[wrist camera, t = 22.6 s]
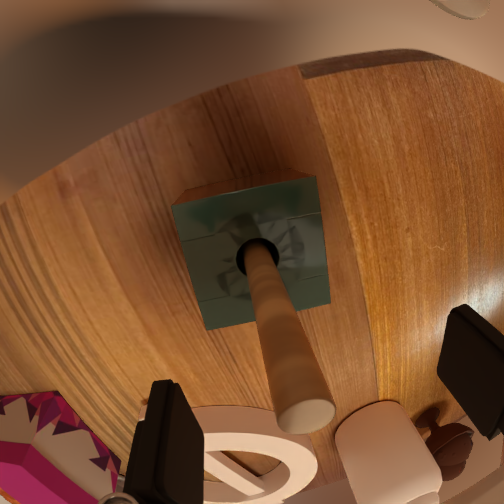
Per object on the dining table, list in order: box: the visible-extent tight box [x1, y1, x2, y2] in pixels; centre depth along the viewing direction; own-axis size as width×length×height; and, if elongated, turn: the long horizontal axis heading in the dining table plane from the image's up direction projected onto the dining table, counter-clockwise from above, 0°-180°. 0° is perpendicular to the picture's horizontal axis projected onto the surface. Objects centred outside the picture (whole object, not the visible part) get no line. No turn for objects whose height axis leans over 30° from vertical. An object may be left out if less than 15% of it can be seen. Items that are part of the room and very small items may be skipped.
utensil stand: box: [171, 168, 331, 330], centre depth 26 cm, size 10×10×8 cm
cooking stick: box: [241, 238, 336, 435], centre depth 19 cm, size 2×2×22 cm
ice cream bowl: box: [415, 407, 474, 481], centre depth 37 cm, size 11×11×15 cm
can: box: [335, 401, 442, 504], centre depth 32 cm, size 12×12×20 cm
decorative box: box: [0, 391, 121, 504], centre depth 30 cm, size 19×19×15 cm
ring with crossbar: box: [138, 405, 318, 504], centre depth 39 cm, size 28×28×5 cm
